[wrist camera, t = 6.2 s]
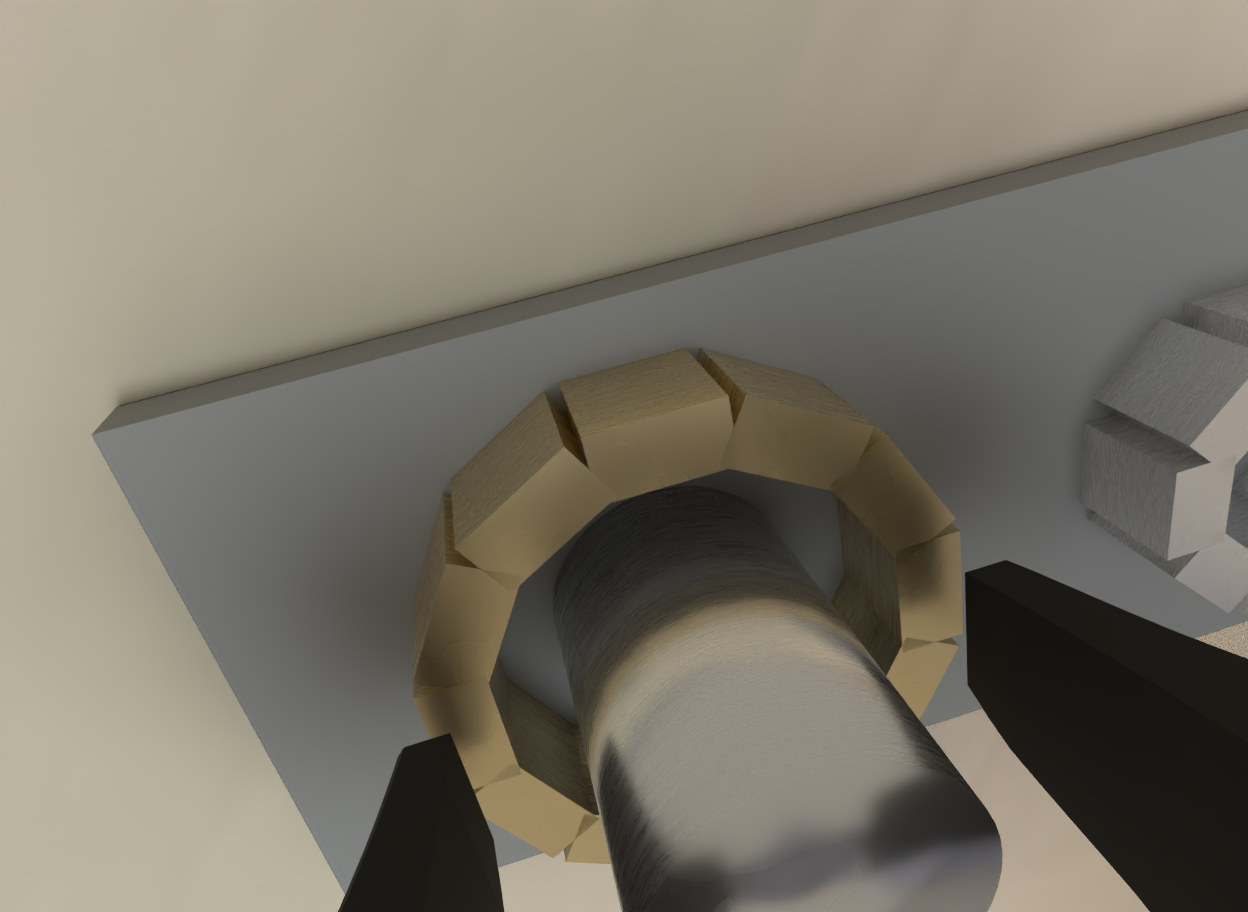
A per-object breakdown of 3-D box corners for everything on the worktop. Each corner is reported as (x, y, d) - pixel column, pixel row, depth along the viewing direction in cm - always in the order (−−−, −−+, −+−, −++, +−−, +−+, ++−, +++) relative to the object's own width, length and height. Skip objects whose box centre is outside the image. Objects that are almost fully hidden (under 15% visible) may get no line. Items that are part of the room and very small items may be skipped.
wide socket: (880, 294, 13) (954, 332, 11) (907, 694, 16) (966, 772, 14) (346, 440, 12) (332, 506, 10) (500, 826, 15) (510, 926, 14)
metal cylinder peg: (769, 454, 13) (997, 716, 8) (800, 648, 15) (1005, 966, 10) (523, 530, 13) (592, 858, 8) (586, 719, 15) (677, 1089, 9)
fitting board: (1461, 54, 14) (1531, 53, 13) (1349, 547, 19) (1395, 572, 18) (116, 406, 12) (91, 434, 11) (360, 868, 16) (356, 914, 16)
